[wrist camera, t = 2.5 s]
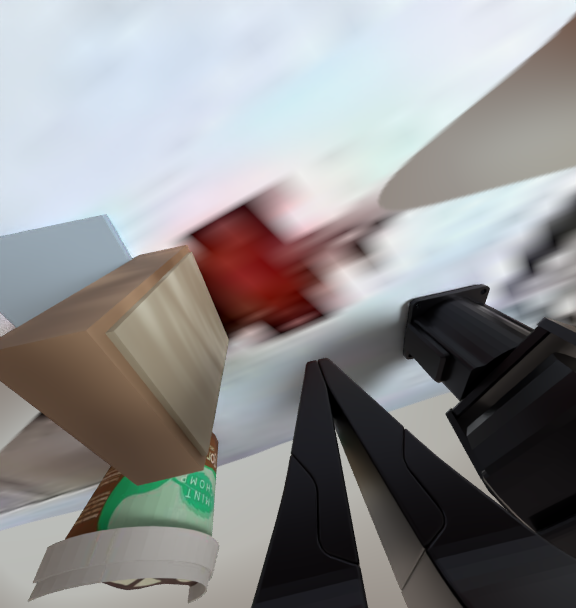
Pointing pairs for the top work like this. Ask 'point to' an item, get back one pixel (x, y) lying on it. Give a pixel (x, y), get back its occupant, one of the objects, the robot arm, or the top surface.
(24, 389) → the wooden block
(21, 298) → the board
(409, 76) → the top surface
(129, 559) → the food container
